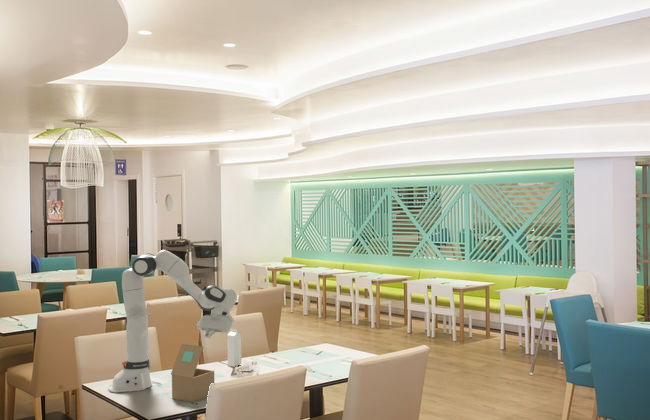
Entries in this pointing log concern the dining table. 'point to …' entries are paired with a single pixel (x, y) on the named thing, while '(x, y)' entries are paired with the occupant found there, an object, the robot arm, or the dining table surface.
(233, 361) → the milk
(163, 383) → the dining table surface
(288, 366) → the dining table surface
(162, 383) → the dining table surface
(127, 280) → the robot arm
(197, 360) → the lid flap
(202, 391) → the carton
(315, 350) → the dining table surface
